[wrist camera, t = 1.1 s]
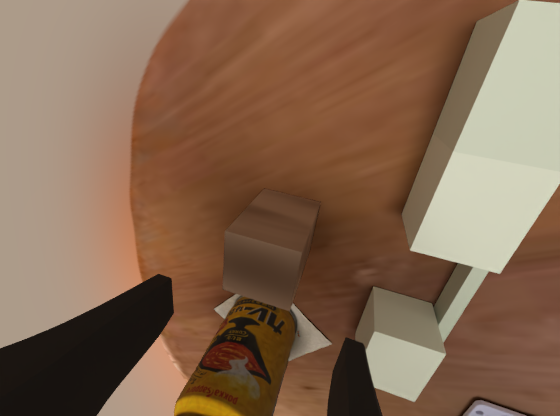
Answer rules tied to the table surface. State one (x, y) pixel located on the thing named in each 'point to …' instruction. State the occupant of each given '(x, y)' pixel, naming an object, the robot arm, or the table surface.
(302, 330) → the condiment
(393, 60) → the table surface
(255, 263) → the walnut key block
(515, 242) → the sage bar
